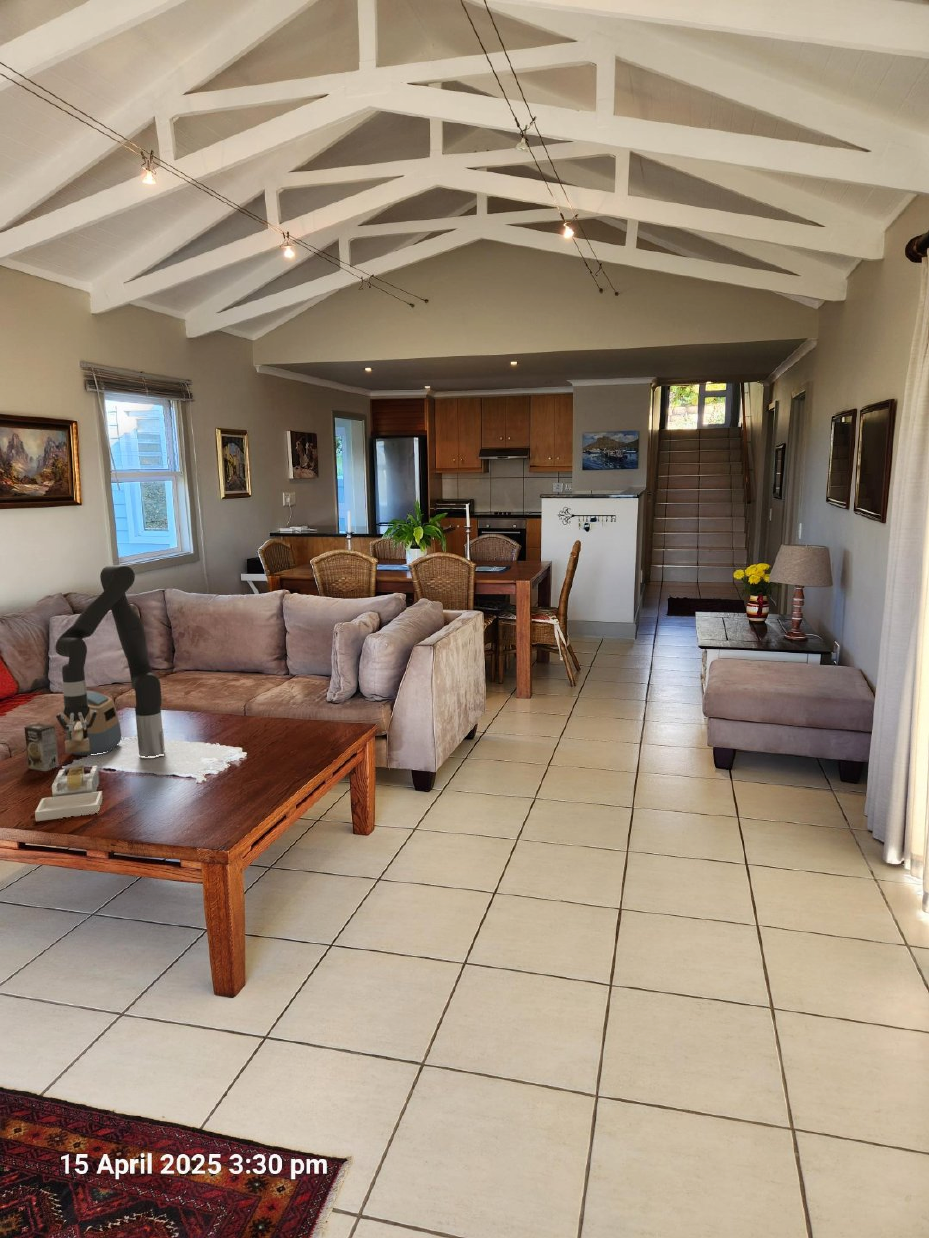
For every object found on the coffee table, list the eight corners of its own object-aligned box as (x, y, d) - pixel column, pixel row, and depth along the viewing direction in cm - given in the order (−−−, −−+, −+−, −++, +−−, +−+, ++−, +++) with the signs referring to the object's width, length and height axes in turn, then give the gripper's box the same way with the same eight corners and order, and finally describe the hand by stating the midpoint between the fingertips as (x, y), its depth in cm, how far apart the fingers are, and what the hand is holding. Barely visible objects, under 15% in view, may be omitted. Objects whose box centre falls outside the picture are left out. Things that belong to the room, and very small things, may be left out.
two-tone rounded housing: (106, 757, 309) (101, 699, 305) (64, 757, 310) (58, 699, 306) (125, 743, 326) (120, 688, 322) (85, 743, 326) (79, 688, 322)
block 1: (84, 776, 277) (83, 765, 277) (83, 780, 274) (81, 769, 273) (72, 778, 276) (70, 767, 275) (70, 782, 272) (69, 770, 272)
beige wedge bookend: (65, 752, 278) (63, 733, 277) (72, 740, 291) (70, 722, 290) (89, 750, 280) (87, 731, 279) (94, 738, 293) (92, 720, 292)
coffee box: (27, 768, 298) (23, 727, 295) (43, 762, 304) (38, 722, 301) (44, 771, 294) (39, 729, 291) (59, 766, 300) (55, 724, 297)
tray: (102, 799, 267) (101, 791, 266) (98, 813, 256) (97, 804, 255) (43, 806, 262) (42, 798, 261) (35, 821, 250) (34, 812, 250)
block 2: (82, 781, 273) (81, 770, 272) (80, 785, 269) (79, 774, 268) (69, 783, 271) (68, 771, 271) (67, 787, 268) (66, 775, 267)
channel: (99, 782, 282) (97, 765, 281) (93, 799, 267) (91, 781, 266) (61, 787, 278) (60, 769, 277) (53, 804, 263) (51, 785, 262)
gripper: (98, 688, 287) (102, 734, 290) (55, 691, 283) (59, 738, 286) (95, 693, 280) (99, 740, 283) (51, 697, 276) (55, 744, 279)
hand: (79, 739), depth 284 cm, fingers closed on beige wedge bookend, 3 cm apart
